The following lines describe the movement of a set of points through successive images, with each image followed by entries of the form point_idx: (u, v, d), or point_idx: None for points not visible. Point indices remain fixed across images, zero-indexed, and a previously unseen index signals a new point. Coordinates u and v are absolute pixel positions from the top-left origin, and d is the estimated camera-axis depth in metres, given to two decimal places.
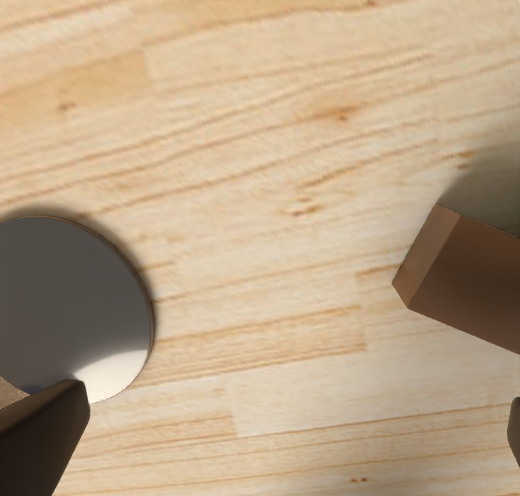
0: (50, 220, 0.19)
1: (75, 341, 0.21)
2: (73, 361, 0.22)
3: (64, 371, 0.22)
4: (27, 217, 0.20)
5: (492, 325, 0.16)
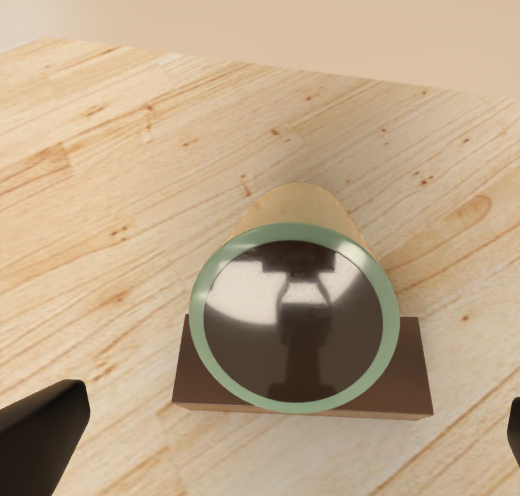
0: None
1: None
2: None
3: None
4: None
5: None
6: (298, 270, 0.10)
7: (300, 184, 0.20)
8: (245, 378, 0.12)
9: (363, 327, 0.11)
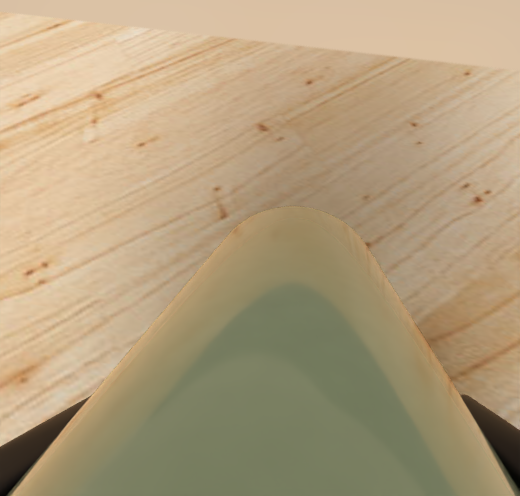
0: None
1: None
2: None
3: None
4: None
5: None
6: None
7: (296, 211, 0.12)
8: None
9: None
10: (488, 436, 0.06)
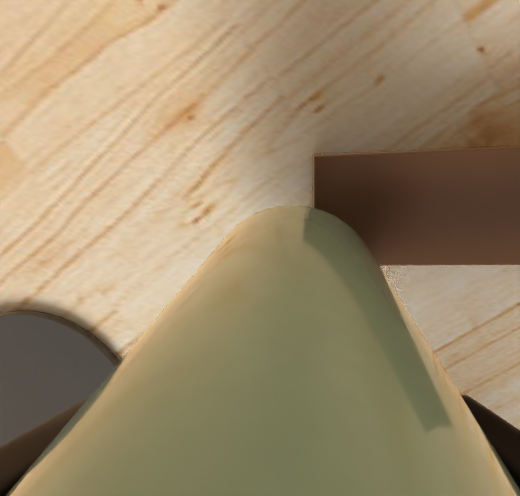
0: None
1: None
2: None
3: None
4: None
5: (404, 246, 0.14)
6: None
7: (296, 210, 0.12)
8: None
9: None
10: (488, 436, 0.06)
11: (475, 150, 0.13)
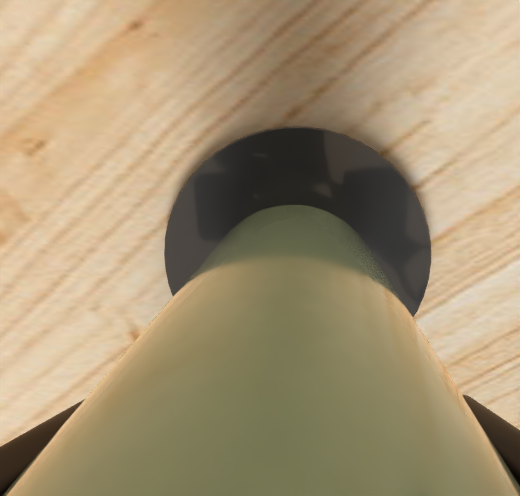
0: (258, 134, 0.15)
1: None
2: None
3: None
4: (228, 145, 0.15)
5: None
6: None
7: (296, 209, 0.12)
8: None
9: None
10: None
11: None
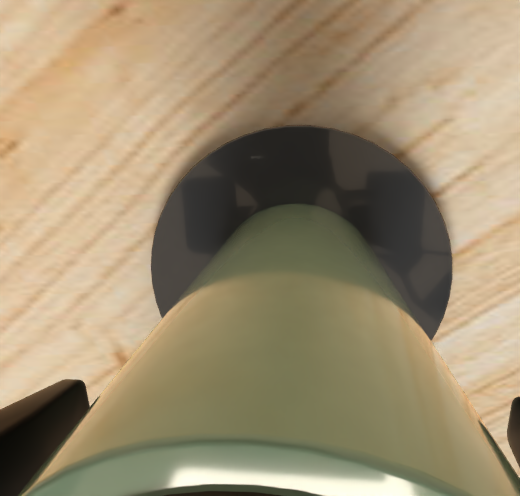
0: (256, 134, 0.13)
1: None
2: None
3: None
4: (222, 146, 0.13)
5: None
6: None
7: (299, 208, 0.13)
8: None
9: None
10: None
11: None
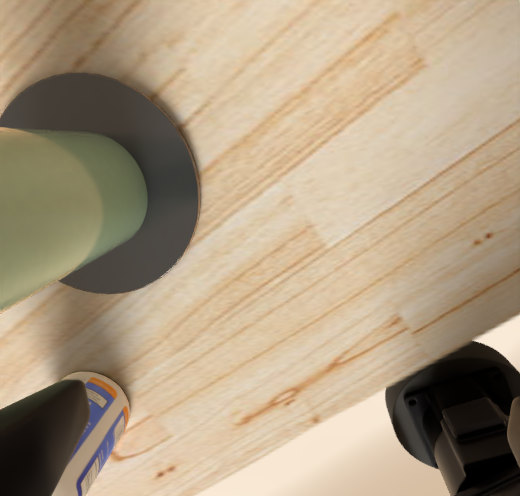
0: (48, 79, 0.18)
1: None
2: None
3: (125, 249, 0.20)
4: (27, 88, 0.19)
5: None
6: None
7: None
8: None
9: None
10: None
11: None
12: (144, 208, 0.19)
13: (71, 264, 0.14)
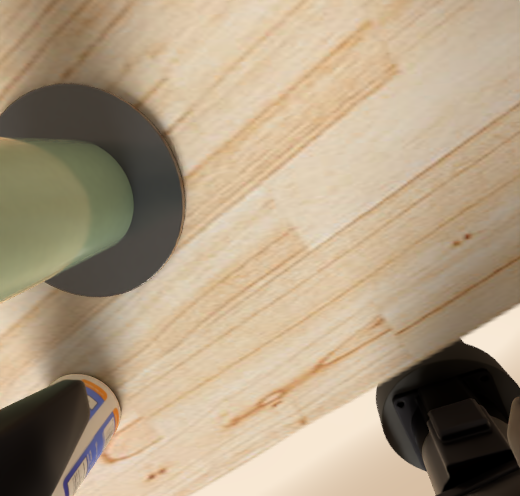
0: (38, 90, 0.19)
1: None
2: None
3: (113, 253, 0.21)
4: (18, 99, 0.19)
5: None
6: None
7: None
8: None
9: None
10: None
11: None
12: (130, 213, 0.20)
13: (53, 266, 0.15)
